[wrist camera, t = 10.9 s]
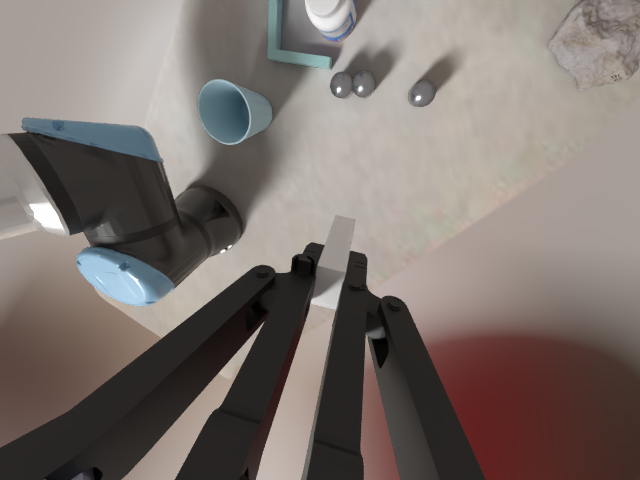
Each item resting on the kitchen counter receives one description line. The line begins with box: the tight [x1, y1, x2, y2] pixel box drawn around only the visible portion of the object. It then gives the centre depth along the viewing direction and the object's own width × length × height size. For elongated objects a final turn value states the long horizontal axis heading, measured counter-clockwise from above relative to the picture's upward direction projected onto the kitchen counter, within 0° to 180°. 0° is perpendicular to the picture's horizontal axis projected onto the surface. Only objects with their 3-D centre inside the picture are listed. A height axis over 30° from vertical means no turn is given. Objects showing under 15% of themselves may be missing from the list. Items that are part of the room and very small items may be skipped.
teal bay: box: [267, 0, 332, 70], centre depth 32 cm, size 9×11×2 cm
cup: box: [197, 79, 272, 145], centre depth 36 cm, size 8×8×10 cm
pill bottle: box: [305, 0, 357, 42], centre depth 28 cm, size 6×5×10 cm
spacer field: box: [330, 71, 436, 107], centre depth 30 cm, size 16×18×4 cm
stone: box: [548, 0, 640, 90], centre depth 26 cm, size 8×10×6 cm
